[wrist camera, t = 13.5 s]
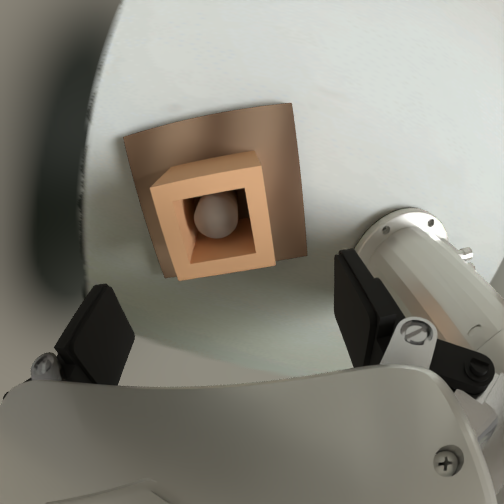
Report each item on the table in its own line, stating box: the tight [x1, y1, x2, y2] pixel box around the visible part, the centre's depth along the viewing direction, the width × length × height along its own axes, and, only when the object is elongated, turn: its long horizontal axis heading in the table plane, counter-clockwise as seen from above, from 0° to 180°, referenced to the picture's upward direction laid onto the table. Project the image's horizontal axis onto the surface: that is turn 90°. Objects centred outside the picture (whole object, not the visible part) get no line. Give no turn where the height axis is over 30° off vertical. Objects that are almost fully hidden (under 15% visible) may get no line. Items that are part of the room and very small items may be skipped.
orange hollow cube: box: [150, 151, 276, 281], centre depth 19 cm, size 6×6×6 cm
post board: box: [123, 103, 307, 278], centre depth 20 cm, size 13×13×6 cm
